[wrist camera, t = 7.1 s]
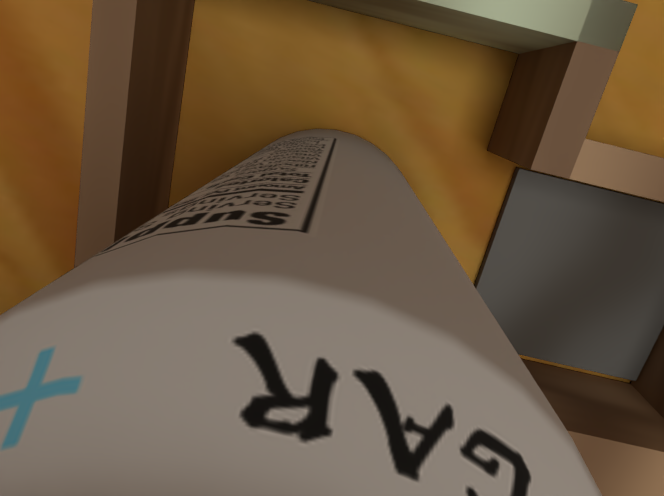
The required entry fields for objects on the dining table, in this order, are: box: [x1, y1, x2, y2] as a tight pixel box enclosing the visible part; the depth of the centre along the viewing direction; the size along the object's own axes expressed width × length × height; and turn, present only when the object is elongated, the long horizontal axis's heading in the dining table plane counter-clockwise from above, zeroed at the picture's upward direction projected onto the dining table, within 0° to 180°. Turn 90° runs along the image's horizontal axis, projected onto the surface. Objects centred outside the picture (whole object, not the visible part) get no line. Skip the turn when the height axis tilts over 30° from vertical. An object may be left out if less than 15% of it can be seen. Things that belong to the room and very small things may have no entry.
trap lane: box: [74, 0, 664, 496], centre depth 16 cm, size 20×24×4 cm
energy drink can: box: [0, 129, 602, 496], centre depth 9 cm, size 6×6×15 cm
